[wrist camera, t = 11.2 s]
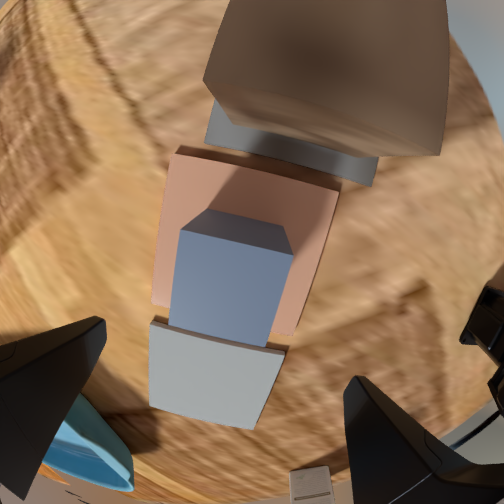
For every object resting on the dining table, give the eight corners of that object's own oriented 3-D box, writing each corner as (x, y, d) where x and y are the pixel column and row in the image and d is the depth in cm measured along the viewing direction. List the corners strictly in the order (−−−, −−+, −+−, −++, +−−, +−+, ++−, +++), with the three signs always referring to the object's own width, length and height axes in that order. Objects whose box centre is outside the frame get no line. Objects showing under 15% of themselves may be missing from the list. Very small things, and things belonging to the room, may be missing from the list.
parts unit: (393, 33, 13) (462, -23, 4) (366, 185, 17) (458, 209, 8) (252, -9, 13) (245, -97, 3) (206, 143, 16) (145, 120, 7)
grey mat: (284, 351, 21) (284, 355, 20) (253, 425, 24) (252, 429, 24) (152, 320, 21) (149, 324, 20) (151, 401, 24) (149, 405, 23)
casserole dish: (88, 358, 23) (55, 401, 16) (172, 466, 29) (163, 503, 23) (-24, 352, 27) (-44, 371, 20) (35, 434, 33) (23, 454, 26)
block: (283, 225, 17) (293, 255, 12) (264, 294, 19) (265, 347, 13) (206, 208, 17) (180, 229, 11) (194, 278, 19) (168, 324, 13)
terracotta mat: (336, 191, 17) (339, 192, 17) (291, 331, 20) (292, 336, 20) (174, 153, 17) (171, 153, 16) (153, 299, 20) (151, 303, 19)
